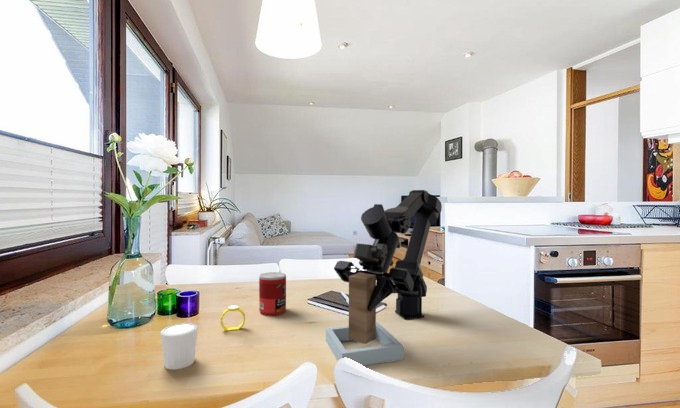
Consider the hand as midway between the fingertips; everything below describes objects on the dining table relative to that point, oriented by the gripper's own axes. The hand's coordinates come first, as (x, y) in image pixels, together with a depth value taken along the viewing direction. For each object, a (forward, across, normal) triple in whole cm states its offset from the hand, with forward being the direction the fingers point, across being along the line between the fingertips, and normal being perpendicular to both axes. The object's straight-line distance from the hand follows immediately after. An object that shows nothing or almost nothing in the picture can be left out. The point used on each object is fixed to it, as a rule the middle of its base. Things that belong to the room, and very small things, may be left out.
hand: (359, 308), depth 72 cm
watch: (+13, -33, +1) cm, 36 cm away
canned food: (+2, -35, +12) cm, 37 cm away
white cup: (+25, -28, -11) cm, 39 cm away
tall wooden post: (+4, 0, +6) cm, 7 cm away
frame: (+6, 0, +8) cm, 10 cm away
